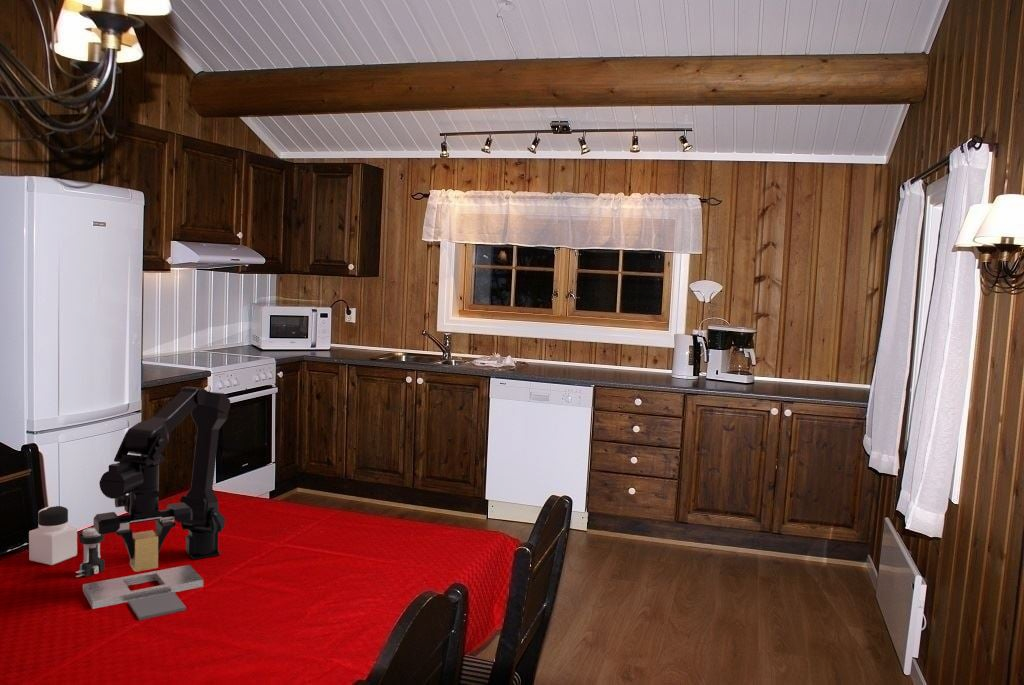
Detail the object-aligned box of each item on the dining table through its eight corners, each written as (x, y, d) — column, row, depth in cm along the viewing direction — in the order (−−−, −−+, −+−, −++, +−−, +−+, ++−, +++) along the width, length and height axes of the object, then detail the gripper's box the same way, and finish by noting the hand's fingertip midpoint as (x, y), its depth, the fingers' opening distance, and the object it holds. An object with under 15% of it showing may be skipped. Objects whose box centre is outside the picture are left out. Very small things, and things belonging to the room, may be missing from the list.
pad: (173, 594, 174) (173, 591, 174) (186, 610, 167) (186, 607, 167) (128, 603, 168) (128, 600, 168) (139, 620, 161) (139, 617, 161)
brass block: (152, 560, 178) (152, 530, 178) (157, 567, 175) (158, 536, 174) (129, 564, 176) (129, 533, 175) (135, 571, 172) (135, 540, 171)
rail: (189, 571, 186) (189, 564, 186) (203, 586, 179) (203, 579, 178) (82, 591, 173) (82, 584, 173) (92, 608, 165) (92, 601, 165)
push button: (84, 581, 178) (84, 537, 177) (67, 576, 180) (67, 533, 179) (110, 571, 184) (110, 528, 183) (93, 566, 186) (93, 524, 185)
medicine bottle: (77, 555, 192) (77, 506, 191) (51, 565, 186) (51, 514, 184) (54, 550, 195) (54, 502, 193) (28, 560, 188) (28, 510, 187)
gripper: (178, 471, 185) (178, 537, 187) (88, 481, 174) (88, 552, 175) (193, 483, 177) (192, 552, 178) (99, 495, 165) (99, 569, 167)
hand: (143, 556), depth 175 cm, fingers closed on brass block, 5 cm apart
